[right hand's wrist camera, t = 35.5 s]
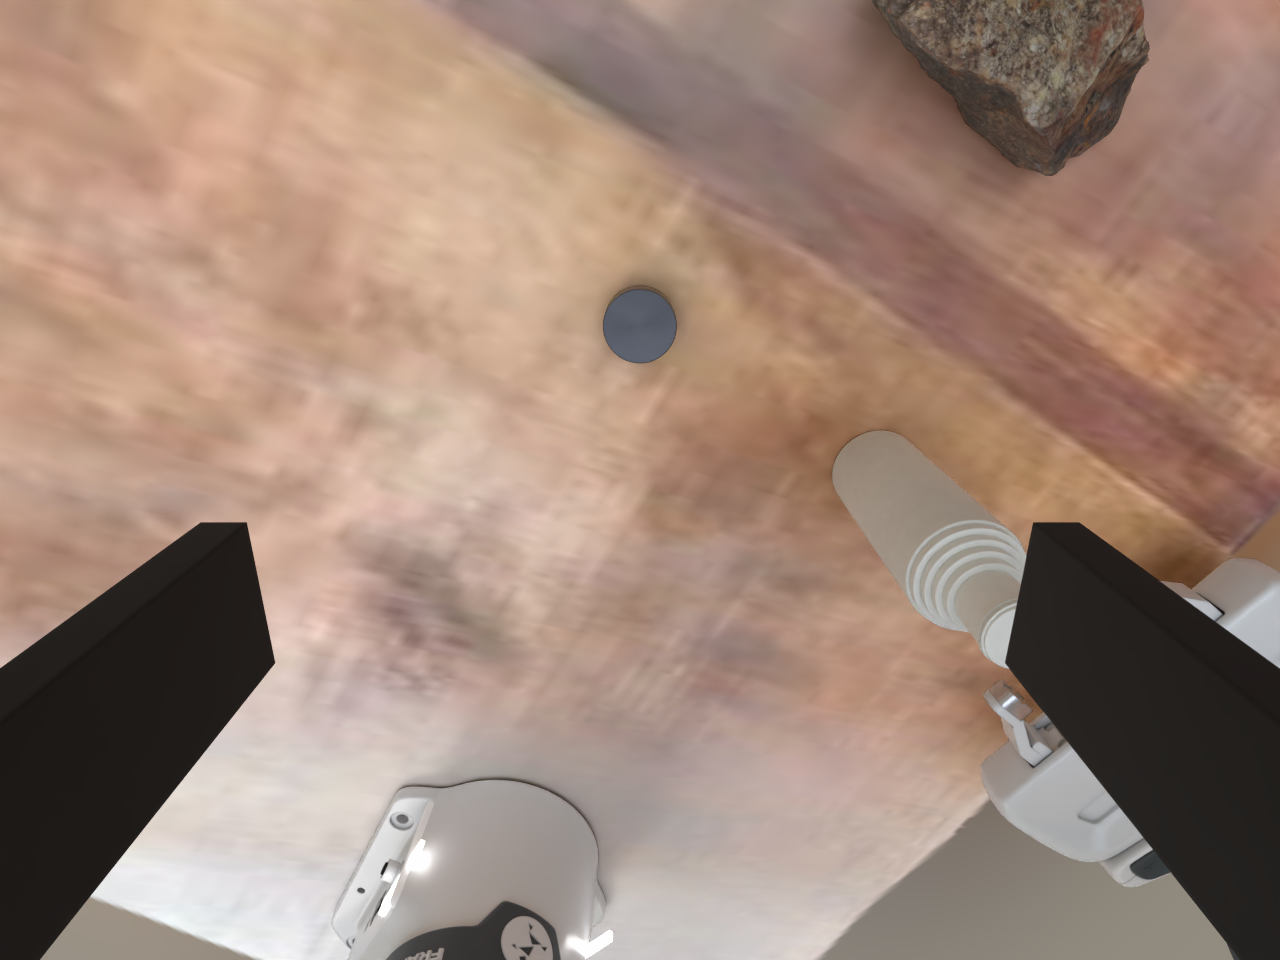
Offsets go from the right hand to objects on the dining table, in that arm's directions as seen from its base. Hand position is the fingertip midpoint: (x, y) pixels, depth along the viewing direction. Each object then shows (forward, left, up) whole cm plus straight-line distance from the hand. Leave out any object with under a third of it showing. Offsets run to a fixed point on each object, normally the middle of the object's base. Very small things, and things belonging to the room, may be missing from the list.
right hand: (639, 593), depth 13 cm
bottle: (+3, +17, -31) cm, 36 cm away
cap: (0, 0, -30) cm, 30 cm away
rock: (-19, +12, -31) cm, 39 cm away
